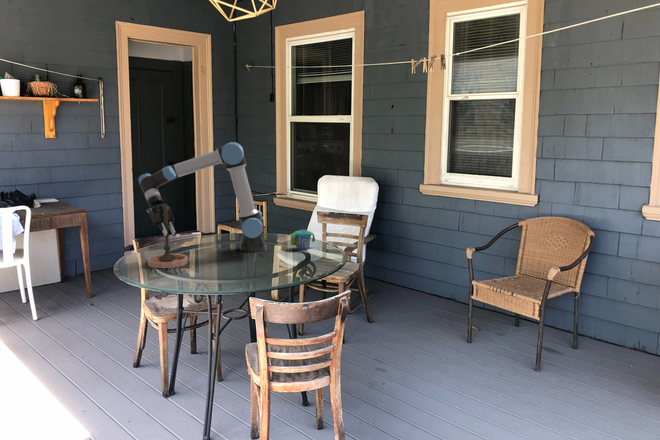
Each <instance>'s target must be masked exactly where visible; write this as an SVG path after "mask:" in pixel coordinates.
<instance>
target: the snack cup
mask: <svg viewBox="0 0 660 440" xmlns="http://www.w3.org/2000/svg"><path fill="white" fill-rule="evenodd" d="M311 237H312V239H311ZM294 238H295V245H296V249H297V250H309V248H310V244H311V242H312V243H314V242H315V240H316V238H315V234H314V232H312V231H310V230H296V231H294V232H293V234H292V236H291V238H290V244H291V245H294Z"/></svg>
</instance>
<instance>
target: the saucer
mask: <svg viewBox="0 0 660 440" xmlns="http://www.w3.org/2000/svg"><path fill="white" fill-rule="evenodd" d="M164 254H165V253H163V254H157V255H156V254H155V255H152V256H150V257H148V259H147V266H148V267H150V268H151V269H152V268H153V269H157V268H163V269H162V270H166V269H165V268H169V269H176V268H175V267H177V268H180V266H181V267H185V266H186V265H188V256H187V255H185V254H182V253H181V254H179V253H171V254H172V255H174V256H175V257H176V259H175V260H172V261H160V260H159V258H160V257H161V256H162V255H164Z"/></svg>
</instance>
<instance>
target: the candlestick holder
mask: <svg viewBox="0 0 660 440" xmlns="http://www.w3.org/2000/svg"><path fill="white" fill-rule="evenodd" d="M168 207H169V206H168V203H166V202H165V203H164V204H163V215H164V216H163V215H162V216H163V224H164V226H165V229H166V231H167V235H166V236H164V243H165V246H163V250H164V251H165V253H163V254H164V255H162V254H161V255H162V256H161V257H160V258H159V260H160V261H172V260H175V259H176V257H175V256H174V255H172V254H173V253H171V252H170V251H171V246H170V245H169V236H170V235H169V230H170V228H169V226H170V224H169V223H168Z"/></svg>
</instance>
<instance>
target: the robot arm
mask: <svg viewBox="0 0 660 440" xmlns="http://www.w3.org/2000/svg"><path fill="white" fill-rule="evenodd" d="M246 160H247V159H246V156H245V154H244V147H243V146H242V145H241V144H240V143H239V142H236V141H230V142H228V143H225V144H224V145H223V146H220V147H217V148H216V150H213V151H211V152H208V153H206V154H202V155H198V156H196V157H193V158H190V159H188V160H184V161H182V162H178V163H176V164H172V165H167V166H165V167H163V168H161V169H160V170H158V171H156V172H154V173H153V174H150V173H143V174H141V175H140V176H139V177H138V178H137V179H138V183H139V187H140V188H141V190H142V192H143V195H144V197H145V200H146V201H147V204H148V206H149V207H147V208H146V211H145V212H146V214H148V216H149V218H150V219H151V221H152V223H153V226H157V227H158V228H159V230H160V231H162V234H163V236H164V237H165V236H166V235H167V231H166V229H165V226H164V222H162V220H161V216H163V217H164V215H163V204H165V203H164V200H163V198H162V196H161V194H160V192H159V189H158V188H160V187H161V186H163V185H165V184H167V183H169V182H170V181H173V180H175V179H177V178H180V177H183V176H186V175H189V174H193V173H196V172H198V171H202V170H205V169H207V168H210V167H214V166H216V165H220V164H221V165H224V167H225V169H226V171H228V172H229V174H230V179H231V182H232V185H233V186H232V187H233V190H234V193H235V197H236V201H237V204H238V208H239V215H238V218H239V222H240V227H241V232H242V234H241V235H242V236H241V240H240V243H239V251H241V252H245V253H257V252H263V251H265V250H266V244H265V241H264V238H263V230H264V225H263V215H262V214H263V212H262V211H260V210H258V209H256V206H255V203H254V197H253V194H252V190H251V187H250V183H249V180H248V175H247V172H246V171H247V170H246V166H247V161H246ZM167 207H168V224H170V226H169V228H170V229H169V230H170V233H171V235H172V236H174V235H175V233H176V230H175V225H174V223H175V221H176V218H175V216H174V214H173V211H172V206H171V205H169V206H167Z"/></svg>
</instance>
